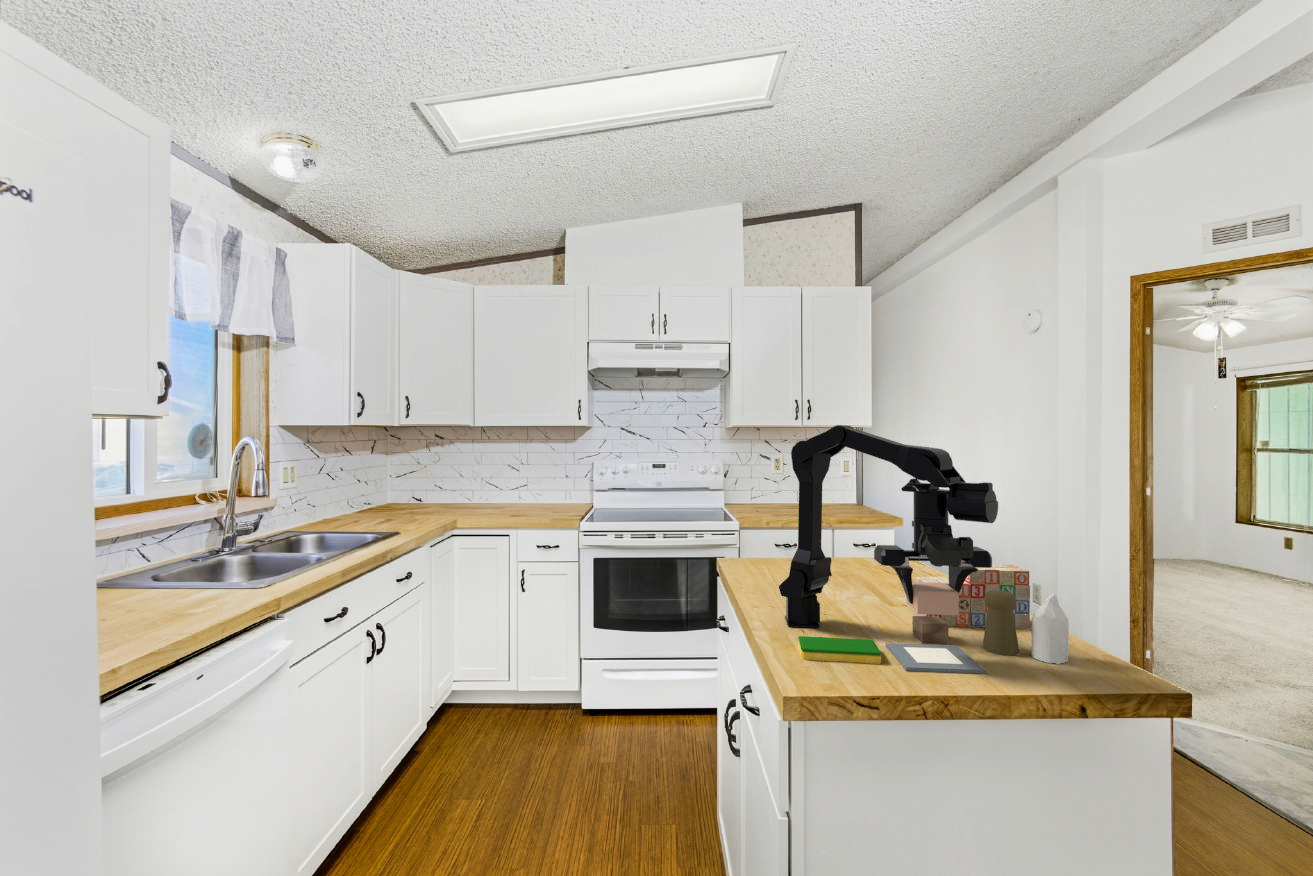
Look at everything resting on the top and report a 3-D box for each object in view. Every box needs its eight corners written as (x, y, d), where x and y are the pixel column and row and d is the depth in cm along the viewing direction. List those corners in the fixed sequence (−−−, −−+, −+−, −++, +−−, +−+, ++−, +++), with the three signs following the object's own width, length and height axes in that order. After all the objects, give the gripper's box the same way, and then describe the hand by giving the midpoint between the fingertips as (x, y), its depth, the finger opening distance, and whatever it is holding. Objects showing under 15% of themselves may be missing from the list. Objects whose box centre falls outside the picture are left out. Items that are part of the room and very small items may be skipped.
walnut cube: (922, 644, 112) (922, 623, 112) (912, 635, 117) (912, 615, 117) (948, 644, 112) (948, 623, 112) (937, 636, 117) (937, 616, 117)
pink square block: (917, 614, 101) (917, 591, 101) (906, 603, 108) (906, 581, 108) (958, 615, 100) (958, 592, 100) (944, 604, 107) (944, 582, 107)
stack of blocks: (926, 626, 123) (925, 568, 123) (915, 617, 129) (914, 562, 129) (1030, 628, 121) (1030, 570, 121) (1014, 619, 127) (1014, 563, 127)
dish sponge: (881, 666, 102) (881, 652, 102) (801, 661, 104) (801, 648, 104) (873, 651, 109) (872, 639, 109) (798, 648, 111) (798, 635, 111)
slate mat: (905, 670, 99) (905, 666, 99) (885, 646, 110) (885, 642, 110) (985, 673, 97) (985, 669, 97) (956, 648, 109) (956, 644, 109)
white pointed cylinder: (1029, 586, 108) (1065, 590, 105) (1030, 650, 108) (1066, 655, 105) (1032, 594, 103) (1070, 598, 100) (1033, 661, 103) (1071, 666, 100)
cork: (1015, 646, 110) (1014, 588, 110) (1023, 657, 104) (1023, 596, 105) (979, 642, 112) (978, 586, 112) (986, 653, 106) (985, 594, 106)
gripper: (890, 523, 97) (891, 615, 97) (1007, 524, 95) (1008, 618, 95) (873, 514, 108) (873, 597, 108) (977, 515, 106) (978, 600, 106)
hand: (931, 603), depth 104 cm, fingers closed on pink square block, 7 cm apart
